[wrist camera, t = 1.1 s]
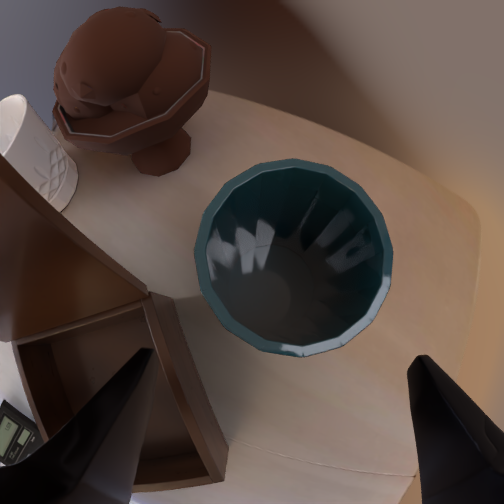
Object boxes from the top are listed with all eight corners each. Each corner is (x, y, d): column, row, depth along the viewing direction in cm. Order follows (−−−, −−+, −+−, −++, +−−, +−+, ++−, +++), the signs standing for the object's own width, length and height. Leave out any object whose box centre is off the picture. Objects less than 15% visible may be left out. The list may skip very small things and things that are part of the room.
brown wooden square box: (229, 448, 18) (224, 481, 13) (97, 467, 17) (70, 491, 12) (172, 297, 21) (150, 291, 16) (48, 337, 20) (9, 338, 15)
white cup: (15, 220, 22) (-51, 183, 12) (42, 151, 24) (-10, 100, 14) (67, 232, 22) (-8, 189, 12) (95, 153, 24) (43, 88, 14)
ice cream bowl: (246, 129, 24) (248, -26, 10) (167, 231, 22) (66, 105, 7) (159, 90, 25) (120, -33, 11) (84, 173, 23) (-11, 69, 9)
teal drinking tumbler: (334, 298, 21) (423, 274, 9) (258, 353, 20) (273, 396, 8) (281, 225, 22) (315, 132, 11) (205, 275, 21) (158, 224, 10)
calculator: (68, 517, 15) (55, 529, 12) (-4, 439, 17) (-20, 445, 14) (102, 486, 17) (88, 501, 14) (18, 395, 18) (-1, 400, 15)
